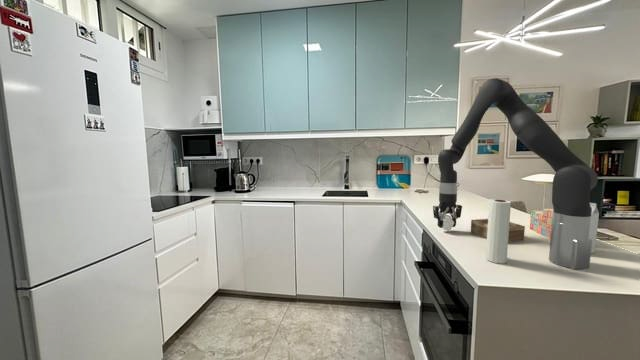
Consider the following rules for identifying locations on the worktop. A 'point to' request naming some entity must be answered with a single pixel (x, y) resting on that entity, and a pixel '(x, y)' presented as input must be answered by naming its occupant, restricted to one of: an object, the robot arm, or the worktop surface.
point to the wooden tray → (481, 228)
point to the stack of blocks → (542, 222)
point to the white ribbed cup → (447, 222)
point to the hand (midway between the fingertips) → (446, 226)
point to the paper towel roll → (498, 230)
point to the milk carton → (593, 225)
